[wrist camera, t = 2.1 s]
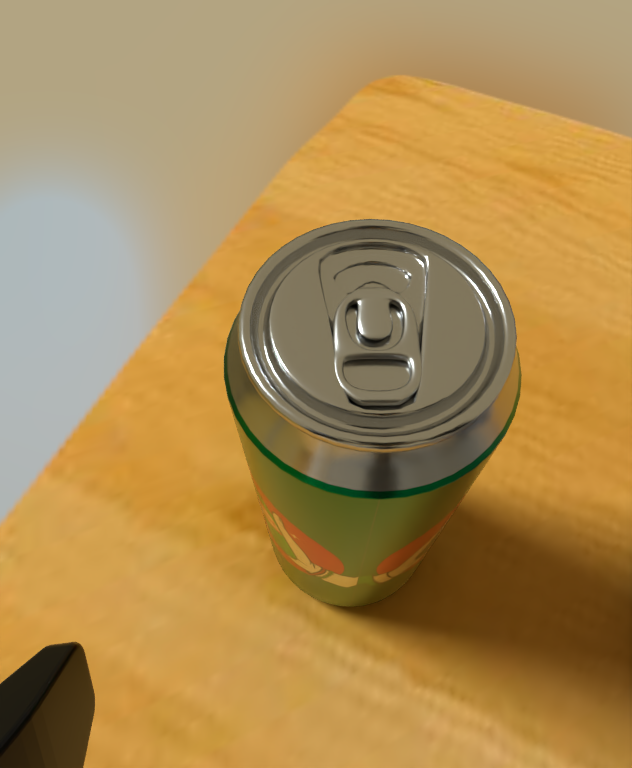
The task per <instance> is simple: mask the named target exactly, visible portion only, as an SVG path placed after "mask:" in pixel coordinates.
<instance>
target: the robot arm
mask: <svg viewBox="0 0 632 768" xmlns="http://www.w3.org/2000/svg"><path fill="white" fill-rule="evenodd" d="M94 710H95V694H94V689H93V685H92V681H91V677H90V673H89V668H88V664H87V660H86V656H85V652H84V649H83V647H82V646H81V644H79V643H77V642H70V643H62V644H54V645H49V646H46V647H45V648H43V649H42V650H41V651H39V652H38V653H37V654H36V655H35V656H33V657H32V658H31V659H30V660H28V661H27V662H26V663H25V664H24V665H22V666H21V667H20V668H19V669H18V670H16V671H15V672H14V673H13V674H12V675H10V676H9V677H8V678H7V679H5V680H4V681H3V682H2V683H1V684H0V768H83V766H84V761H85V756H86V751H87V746H88V741H89V736H90V731H91V726H92V721H93V716H94Z"/></svg>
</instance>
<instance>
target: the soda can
mask: <svg viewBox="0 0 632 768" xmlns="http://www.w3.org/2000/svg"><path fill="white" fill-rule="evenodd" d="M516 342H517V336H516V327H515V318H514V315H513V312H512V309H511V305H510V302H509V300H508V298H507V296H506V294H505V292H504V290H503V288H502V286H501V285H500V283H499V282H498V280H497V279H496V278H495V276H494V275H493V274H492V272H491V271H490V270H489V269H488V268H487V267H486V266H485V265H484V264H483V263H482V262H481V261H480V260H479V259H478V258H477V257H476V256H475V255H473V254H472V253H471V252H470V251H468V250H467V249H466V248H464V247H463V246H462V245H460V244H458V243H456V242H455V241H453V240H451V239H449V238H448V237H446V236H444V235H441V234H439V233H437V232H434V231H432V230H429V229H427V228H423V227H420V226H416V225H413V224H409V223H404V222H398V221H392V220H378V219H364V220H350V221H344V222H339V223H334V224H330V225H327V226H323V227H320V228H317V229H314V230H312V231H310V232H307V233H305V234H303V235H301V236H299V237H297V238H295V239H294V240H292V241H290V242H289V243H287V244H286V245H284V246H283V247H281V248H280V249H279V250H278V251H277V252H275V253H274V254H273V255H272V256H271V257H270V258H268V259H267V261H266V262H265V263H264V264H263V265H262V267H261V268H260V269H259V270H258V271H257V273H256V274H255V276H254V278H253V279H252V281H251V283H250V284H249V286H248V288H247V291H246V294H245V296H244V299H243V302H242V305H241V309H240V311H239V313H238V315H237V316H236V318H235V320H234V322H233V325H232V328H231V330H230V333H229V336H228V338H227V344H226V349H225V355H224V380H225V385H226V391H227V396H228V400H229V403H230V407H231V410H232V413H233V417H234V420H235V423H236V427H237V430H238V433H239V437H240V440H241V443H242V447H243V450H244V453H245V457H246V460H247V463H248V466H249V470H250V473H251V476H252V480H253V483H254V486H255V490H256V493H257V496H258V500H259V503H260V506H261V510H262V513H263V516H264V520H265V523H266V526H267V530H268V533H269V536H270V539H271V543H272V546H273V549H274V552H275V555H276V557H277V560H278V562H279V564H280V565H281V567H282V569H283V571H284V572H285V573H286V575H287V576H288V577H289V578H290V580H291V581H292V582H293V583H294V584H295V585H296V586H298V587H299V588H300V589H301V590H302V591H304V592H305V593H307V594H308V595H310V596H311V597H313V598H315V599H318V600H320V601H322V602H325V603H329V604H333V605H337V606H348V607H353V606H364V605H367V604H371V603H375V602H378V601H380V600H382V599H384V598H386V597H388V596H390V595H391V594H393V593H394V592H396V591H397V590H399V589H400V588H401V587H402V586H403V585H404V584H405V583H406V582H407V581H408V579H409V578H410V577H411V575H412V574H413V573H414V571H415V570H416V568H417V567H418V565H419V564H420V562H421V561H422V559H423V558H424V556H425V555H426V553H427V552H428V550H429V549H430V547H431V546H432V544H433V543H434V541H435V540H436V538H437V537H438V535H439V534H440V532H441V531H442V529H443V528H444V526H445V525H446V523H447V522H448V520H449V519H450V517H451V516H452V514H453V513H454V511H455V510H456V508H457V507H458V505H459V504H460V502H461V501H462V499H463V498H464V496H465V495H466V493H467V492H468V490H469V489H470V487H471V486H472V484H473V483H474V481H475V480H476V478H477V477H478V475H479V474H480V472H481V471H482V469H483V468H484V466H485V465H486V463H487V462H488V460H489V459H490V457H491V456H492V454H493V453H494V451H495V450H496V448H497V447H498V445H499V444H500V442H501V441H502V439H503V438H504V436H505V434H506V432H507V430H508V428H509V426H510V424H511V422H512V420H513V418H514V416H515V412H516V409H517V405H518V401H519V397H520V388H521V367H520V358H519V353H518V350H517V346H516Z"/></svg>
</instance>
